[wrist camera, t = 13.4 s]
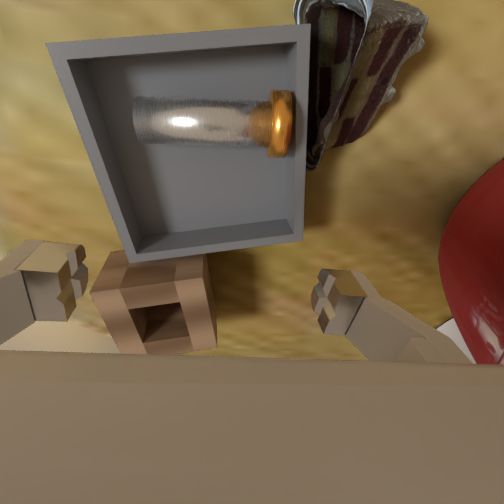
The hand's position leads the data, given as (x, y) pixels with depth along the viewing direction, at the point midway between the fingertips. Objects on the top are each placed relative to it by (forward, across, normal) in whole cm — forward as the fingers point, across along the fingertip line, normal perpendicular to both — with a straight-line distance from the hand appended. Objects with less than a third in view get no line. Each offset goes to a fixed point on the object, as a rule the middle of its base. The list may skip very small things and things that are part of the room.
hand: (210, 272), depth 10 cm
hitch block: (+17, +3, +14) cm, 22 cm away
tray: (+16, +1, 0) cm, 17 cm away
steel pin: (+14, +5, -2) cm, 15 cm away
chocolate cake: (+17, -10, -7) cm, 21 cm away
